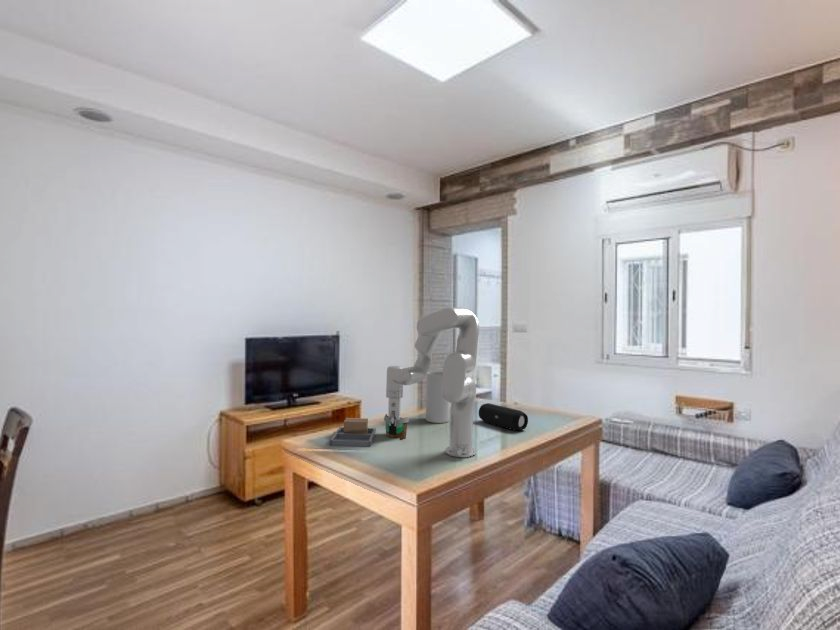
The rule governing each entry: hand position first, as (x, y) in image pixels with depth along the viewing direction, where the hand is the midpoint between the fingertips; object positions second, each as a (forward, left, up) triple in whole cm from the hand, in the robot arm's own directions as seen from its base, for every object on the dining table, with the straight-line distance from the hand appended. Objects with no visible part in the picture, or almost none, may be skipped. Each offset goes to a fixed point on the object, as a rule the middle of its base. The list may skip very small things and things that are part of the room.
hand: (393, 431), depth 204 cm
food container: (0, 0, -3) cm, 3 cm away
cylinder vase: (+35, -21, -3) cm, 41 cm away
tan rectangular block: (0, +17, -2) cm, 17 cm away
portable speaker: (+28, -54, -4) cm, 61 cm away
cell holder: (-5, +17, -3) cm, 18 cm away
